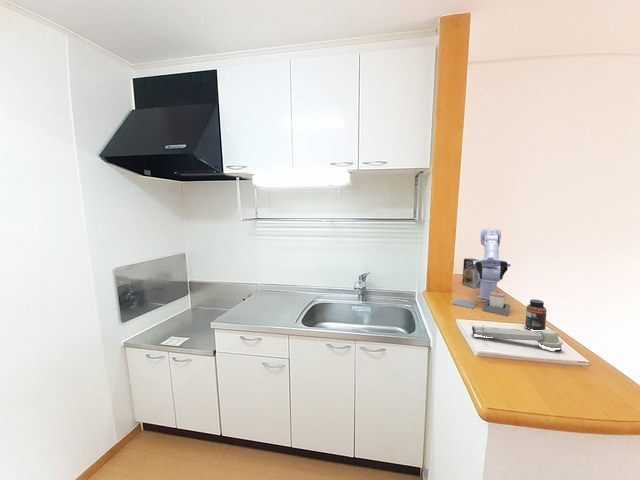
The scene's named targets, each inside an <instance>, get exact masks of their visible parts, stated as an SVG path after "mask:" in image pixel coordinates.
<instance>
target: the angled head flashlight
mask: <svg viewBox="0 0 640 480" xmlns="http://www.w3.org/2000/svg"><path fill="white" fill-rule="evenodd" d="M472 331H473V332H472ZM471 332H472V335H473V334H477V335H482V336H485V337H486V336H487V337H493V338H502V339H501V340H512V341H513V340H514V341H515V340H518V341H534V342H535V341H536V343H538V344H539V343H540V344H541V345H544V346H546V347H550V348H561V349H562V345H563V341H562V340H561V339H559V335H558V333H557V332H556V331H555V330H553V329H552V330H551V329H545V330H542V331H531V330H528V329H519V328H517V329H516V328H506V327H504V328H503V327H493V326H484V325H482V326H480V325H479V326H478V325H477V326H476V325H474V326H473V325H471Z"/></svg>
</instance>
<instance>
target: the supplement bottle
mask: <svg viewBox="0 0 640 480" xmlns="http://www.w3.org/2000/svg"><path fill="white" fill-rule="evenodd" d="M544 304H545V302H544V301H543V300H540V299H535V298H534V299H533V298H532V299H530V300H529V304H528V305H526V309H525V310H526V312H525V323H524V324H525V326H526V327H527V328H529V329H533V330H546V324H547V323H546V322H547V308H546V307H544ZM525 326H524V327H525ZM526 327H525V328H526ZM527 328H526V329H527Z"/></svg>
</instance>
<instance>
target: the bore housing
mask: <svg viewBox="0 0 640 480" xmlns="http://www.w3.org/2000/svg"><path fill="white" fill-rule="evenodd" d="M489 304H490V300H487V299H485V302H484V303H483V305H482V311H483V312H487V313H492V314H495V315H496V314H497V315H501V316H506V317H509V314H510V312H511V304H509V303H504V309H503V308H498V307H493V306H489Z"/></svg>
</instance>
